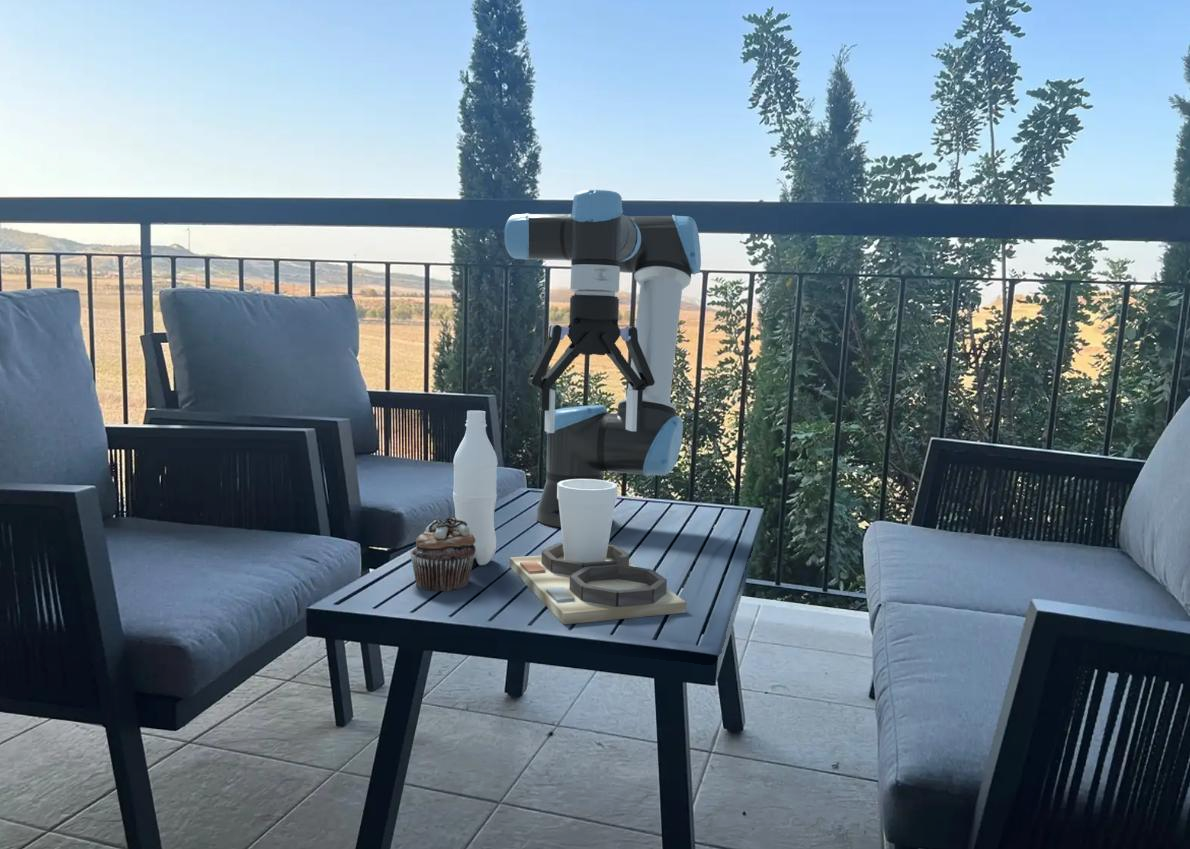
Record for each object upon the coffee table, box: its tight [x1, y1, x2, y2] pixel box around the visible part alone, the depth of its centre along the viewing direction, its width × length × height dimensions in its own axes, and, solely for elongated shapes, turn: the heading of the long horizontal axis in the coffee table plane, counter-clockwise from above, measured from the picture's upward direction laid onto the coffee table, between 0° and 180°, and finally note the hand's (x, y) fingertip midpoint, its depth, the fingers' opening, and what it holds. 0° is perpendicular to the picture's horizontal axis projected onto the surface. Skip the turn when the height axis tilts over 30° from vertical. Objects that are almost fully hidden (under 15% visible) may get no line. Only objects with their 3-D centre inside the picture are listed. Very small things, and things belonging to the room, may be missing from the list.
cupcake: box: [410, 515, 476, 592], centre depth 128 cm, size 10×10×10 cm
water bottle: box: [452, 410, 499, 566], centre depth 139 cm, size 7×7×25 cm
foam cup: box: [557, 479, 619, 563], centre depth 135 cm, size 10×9×13 cm
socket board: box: [509, 542, 687, 625], centre depth 129 cm, size 28×18×4 cm, turn 20°
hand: (590, 431), depth 134 cm, fingers open, 13 cm apart
